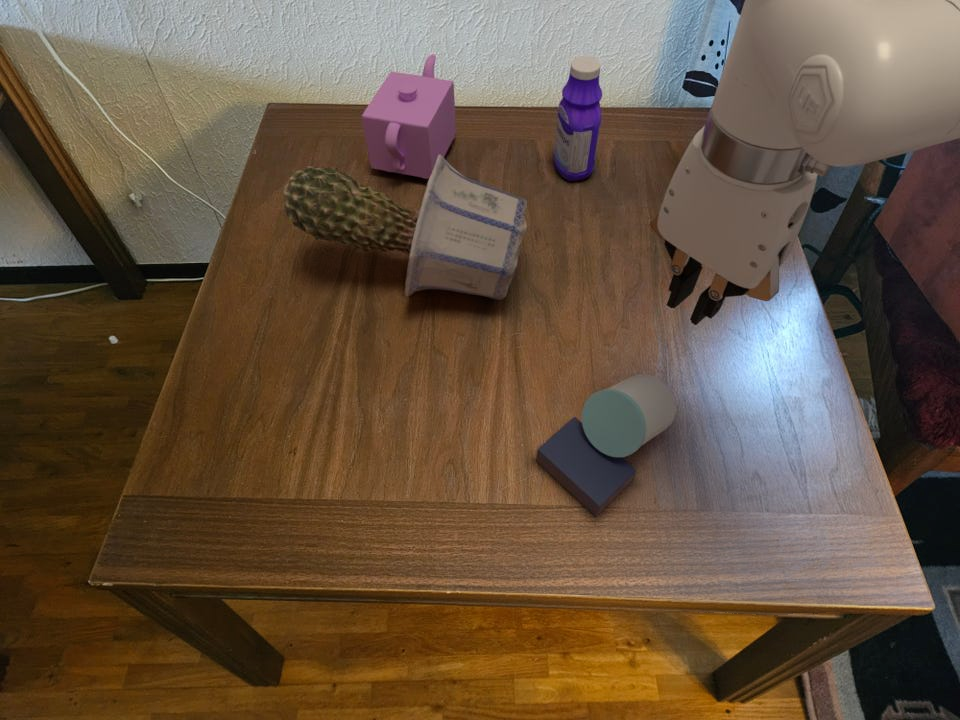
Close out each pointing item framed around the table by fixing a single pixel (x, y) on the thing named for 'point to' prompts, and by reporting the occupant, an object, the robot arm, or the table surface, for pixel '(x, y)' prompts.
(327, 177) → the potted plant
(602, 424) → the beige cylinder teal cap
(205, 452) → the table surface
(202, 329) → the table surface
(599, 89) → the bottle
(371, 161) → the teapot
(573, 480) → the dark rectangular block
